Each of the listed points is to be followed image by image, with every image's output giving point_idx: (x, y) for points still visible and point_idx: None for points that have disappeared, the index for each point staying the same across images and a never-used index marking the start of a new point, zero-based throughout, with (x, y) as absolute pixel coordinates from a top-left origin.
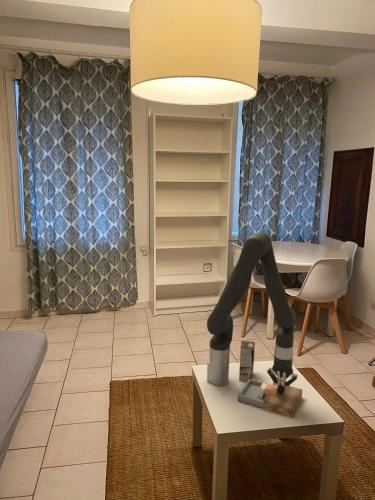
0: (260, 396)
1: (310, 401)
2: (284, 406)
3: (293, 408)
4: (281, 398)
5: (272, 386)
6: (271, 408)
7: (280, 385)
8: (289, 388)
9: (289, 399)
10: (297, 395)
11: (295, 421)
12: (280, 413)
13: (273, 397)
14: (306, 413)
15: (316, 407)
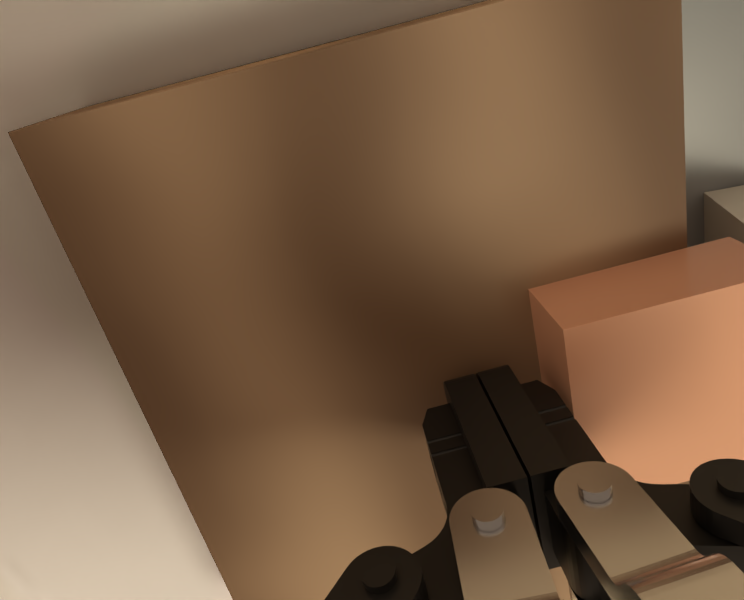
0: (741, 193)
1: (164, 580)
2: (215, 79)
3: (33, 141)
4: (401, 281)
5: (685, 420)
6: (456, 10)
7: (546, 490)
8: None
9: (273, 354)
10: (241, 532)
11: (6, 48)
12: (292, 52)
13: (537, 203)
14: (35, 349)
15: (38, 535)
